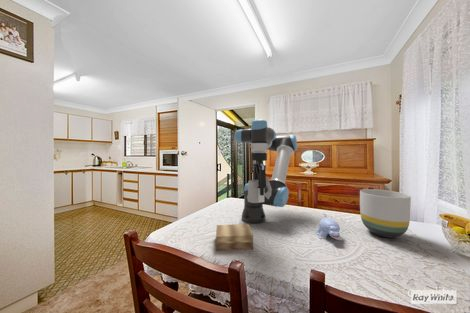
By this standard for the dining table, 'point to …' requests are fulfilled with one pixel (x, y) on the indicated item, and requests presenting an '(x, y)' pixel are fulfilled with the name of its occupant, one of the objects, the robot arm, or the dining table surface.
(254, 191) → the mug
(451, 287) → the dining table surface
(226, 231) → the wooden block
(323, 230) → the light blue rounded figure
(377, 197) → the planter
